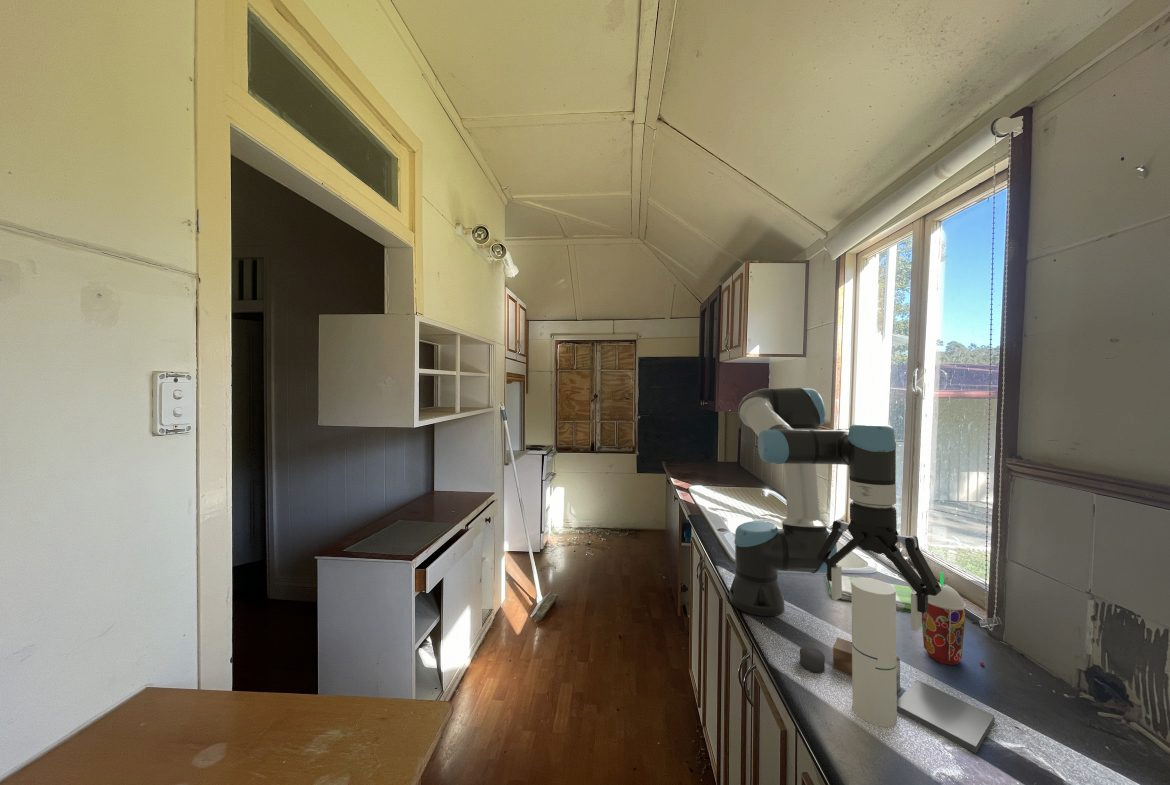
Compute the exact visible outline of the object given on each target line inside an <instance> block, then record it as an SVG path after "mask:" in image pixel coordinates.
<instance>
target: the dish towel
mask: <svg viewBox="0 0 1170 785" xmlns="http://www.w3.org/2000/svg"><path fill="white" fill-rule="evenodd" d="M854 578H855V577H852V576H847V575H846V576H845V575H843V574H842V597H841V598H839V599H838V600H844V601H847V602H852V594H851V580H852V579H854ZM825 580H826V583H827V586H828V587H827V588H828V592H829V594H828V595H830V598H832V581H829V580H828V578H827V573H825ZM889 584H890V585H891V586H893V587H894V588H895V590H896V611H902V612H907V613H911V593H912V592H913V591H914V590H913V588H912V587H911V586H907V585H899V584H896V583H895V584H893V583H889Z"/></svg>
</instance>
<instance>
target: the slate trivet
mask: <svg viewBox="0 0 1170 785" xmlns="http://www.w3.org/2000/svg"><path fill="white" fill-rule="evenodd" d="M897 713H900V714H901V715H903V716H905V717H907V718H909V719H910V720H912V721H915V722H916V723H918V724H920V725H922V726H924V727H926V728H927V729H929V730H931V731H932V732H935V733H937V734H939V735H941V736H942V737H944V738H946V739H948V740H949V741H952V742H954V743H955V744H957V745H959V746H960V747H961V746H962V747H963V748H965V749H967V750H968V751H970V752H973V753H975V754H977V752H978V751H979V749H980V747H981V746H982V744H983V742H984V741H985V739H986V737H987V735H988V734H989V732H990V731H991V729H992V727H993V725H994V724H995V717H996V716H995V714H992V713H990V712H988V711H986V710H983V709H982V708H980V707H977V706H975V705H972V704H971V703H969V702H967V701H964V700H962V699H960V698H958V697H955V696H954V695H951V694H949V693H947V692H945V691H943V690H940V689H939V688H936V687H934V686H932V685H930V684H928V683H925V682H923V681H921V680H919V679H916V680H915V681H914V682H913V683H912V684H911V686H909V688H907V689H906V690H905V692H904V693H903V694H902V695H901V696H900V697H899V698H897Z"/></svg>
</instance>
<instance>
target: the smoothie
mask: <svg viewBox="0 0 1170 785" xmlns="http://www.w3.org/2000/svg"><path fill="white" fill-rule="evenodd" d="M944 576H945V575H944V572H943V571H940V572H939V582H938V584H939V585H940V587H941V592H940V593H938V594H937V595H936V596H932V595H928V610H927V611H926V612H925V613H922V627H921V628H922V629H921V630H922V638H923V648H924V649H925V651H926V653H927V654H926V655H927V656H929V657H930V658H931V659H933V660H935V661H936V662H939V663H942V664H945V665H950V666H951V665H953V666H954V665H958V664H959V662H960V661H961V660H962V658H963V647H964V634H965V622H966V611H967V610H966V607H967V604H966V602H965V601H964V600H963V598H962V596H961V595H960V594H959V592H958V591H957V590H956V589H954V588H953V587H951V586H950V585H949V584H945V583H944V582H945V581H944Z"/></svg>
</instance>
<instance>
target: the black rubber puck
mask: <svg viewBox="0 0 1170 785" xmlns="http://www.w3.org/2000/svg"><path fill="white" fill-rule="evenodd" d="M825 657H826V656H825V654H824V652H822V651H821V650H819V649H817V648H814V647H811V646H803V647H801V648H800V649H799V665H800V667H801V666H802V669H804V670H805V671H807V672H809V673H812V674H823V673H825V669H826V665H825V664H826V663H825V662H826V661H825V660H826V659H825Z"/></svg>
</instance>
